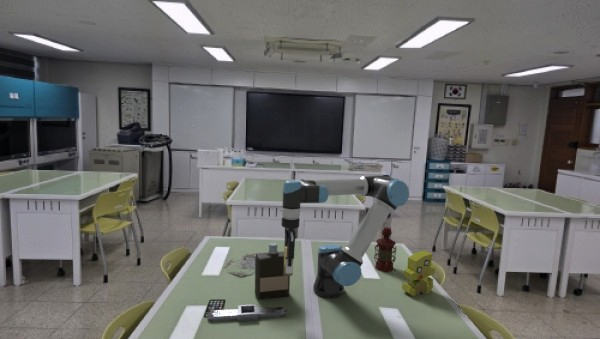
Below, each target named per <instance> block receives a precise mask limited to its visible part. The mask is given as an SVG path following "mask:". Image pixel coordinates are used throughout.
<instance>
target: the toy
mask: <svg viewBox="0 0 600 339" xmlns="http://www.w3.org/2000/svg"><path fill="white" fill-rule="evenodd" d="M432 259H433V253H431V252H429V251H427V250H424V249H423V250H421V251H417V252H414V253H412V254H411V255H409V256H408V257H407V268H405V269H404V270H403V277H404V278H406V279H408V282H407V283H406V282H402V284H401V289H402V290H403V291H404V292H406V293H407V294H409V295H410V296H412V297H416V296H419V295H420V293H421V294H428V293H430V292H431V291H432V289H434V279H433V278H431V277H430V276H434V275H435V271H436V267H434V266H432V261H433V260H432Z"/></svg>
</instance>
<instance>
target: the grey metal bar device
mask: <svg viewBox="0 0 600 339" xmlns="http://www.w3.org/2000/svg"><path fill="white" fill-rule="evenodd" d="M286 316H287V308H286V307H284V306H268V307H258V305H257V303H253V304H252V303H251V304H250V303H249V304H238V305H237V308H236V309H235V308H233V309H223V310H213V311H210V312H209V313H208V318H207V320H208V321H210V322H220V321H221V322H222V321H223V322H224V321H238V322H239V323H240V322H253V321H255V322H256V321H258V320H259V319H271V318H272V319H273V318H283V317H286Z"/></svg>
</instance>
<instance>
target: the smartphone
mask: <svg viewBox="0 0 600 339" xmlns="http://www.w3.org/2000/svg"><path fill="white" fill-rule="evenodd" d="M225 305H226V299H221V298H219V299H215V298H214V299H209V300H208V302H207V306H206V309H205V311H204V313H203V318H207V319H208V313H209V312H210V311H213V310H224V309H225Z"/></svg>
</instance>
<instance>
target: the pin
mask: <svg viewBox="0 0 600 339" xmlns="http://www.w3.org/2000/svg"><path fill="white" fill-rule="evenodd" d="M283 251H284V268H283V275H284V276H290V277H292V276H293V274H294V273H293V271H294V266H293V267H292V273H286V259H285V257H287V246H285V247H284V248H283Z"/></svg>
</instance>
